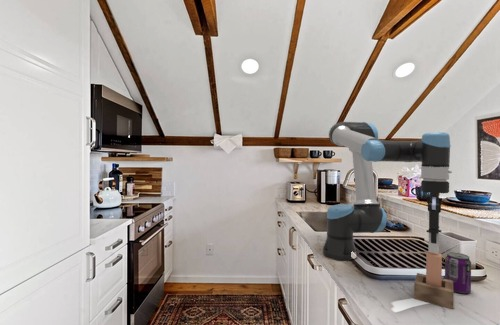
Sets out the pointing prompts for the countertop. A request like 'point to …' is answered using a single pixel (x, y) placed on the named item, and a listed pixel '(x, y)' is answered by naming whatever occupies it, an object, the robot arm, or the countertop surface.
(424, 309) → the countertop surface
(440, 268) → the peg
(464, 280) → the beverage can
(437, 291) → the socket block
